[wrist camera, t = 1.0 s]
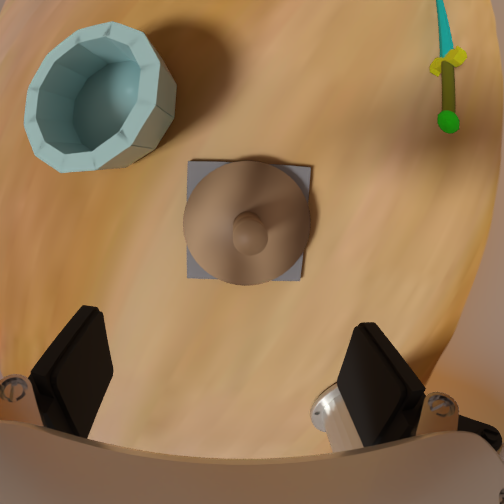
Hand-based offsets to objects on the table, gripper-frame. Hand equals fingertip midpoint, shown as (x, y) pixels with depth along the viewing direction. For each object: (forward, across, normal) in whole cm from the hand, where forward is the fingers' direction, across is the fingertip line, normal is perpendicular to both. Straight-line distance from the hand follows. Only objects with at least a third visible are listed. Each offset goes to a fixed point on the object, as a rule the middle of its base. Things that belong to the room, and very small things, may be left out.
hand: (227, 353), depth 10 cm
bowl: (+21, +13, -12) cm, 27 cm away
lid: (+20, -2, 0) cm, 20 cm away
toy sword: (+21, -24, -28) cm, 42 cm away
